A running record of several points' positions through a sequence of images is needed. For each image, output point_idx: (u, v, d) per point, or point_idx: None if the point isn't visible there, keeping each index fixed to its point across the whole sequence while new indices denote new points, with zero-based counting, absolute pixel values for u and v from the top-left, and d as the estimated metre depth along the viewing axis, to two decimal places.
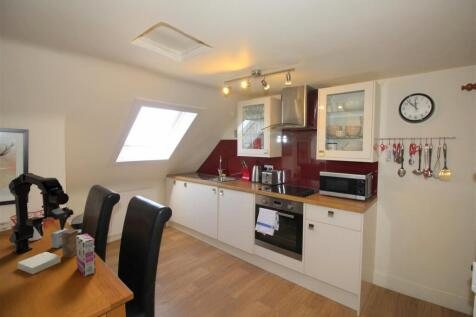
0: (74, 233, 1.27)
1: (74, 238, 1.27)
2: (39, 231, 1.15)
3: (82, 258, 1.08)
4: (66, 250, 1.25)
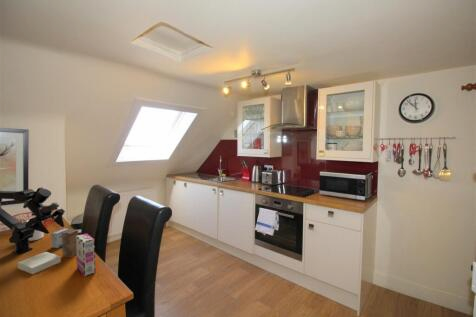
0: (74, 233, 1.27)
1: (74, 238, 1.27)
2: (42, 229, 1.22)
3: (82, 258, 1.08)
4: (66, 250, 1.25)
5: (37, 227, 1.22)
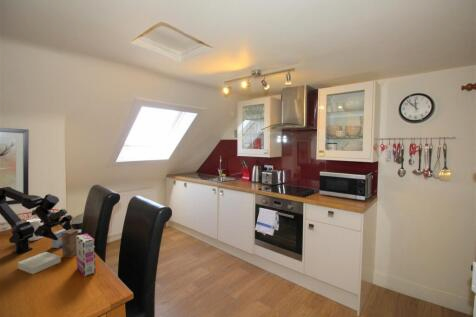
0: (74, 233, 1.27)
1: (74, 238, 1.27)
2: (51, 236, 1.22)
3: (82, 258, 1.08)
4: (66, 250, 1.25)
5: (46, 234, 1.22)
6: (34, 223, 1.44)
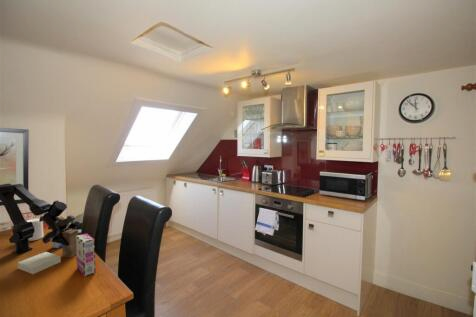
0: (74, 233, 1.27)
1: (74, 238, 1.27)
2: (63, 241, 1.24)
3: (82, 258, 1.08)
4: (66, 250, 1.25)
5: (57, 239, 1.23)
6: (34, 223, 1.44)
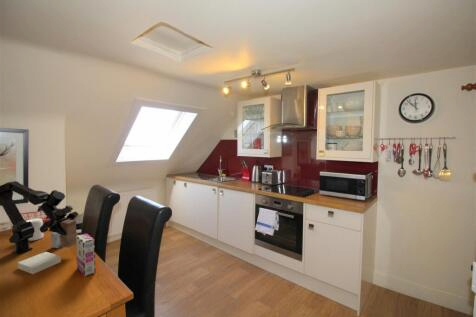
0: (72, 223, 1.25)
1: (71, 229, 1.25)
2: (60, 231, 1.22)
3: (82, 258, 1.08)
4: (64, 240, 1.24)
5: (55, 229, 1.22)
6: (34, 223, 1.44)
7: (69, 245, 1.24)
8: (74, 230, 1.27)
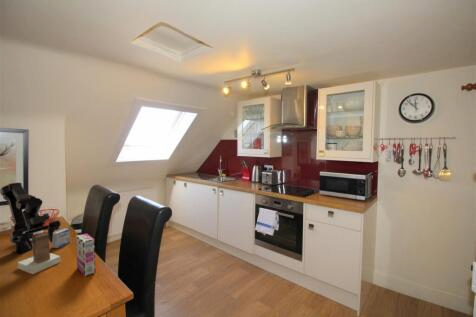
0: (43, 237, 1.14)
1: (42, 243, 1.14)
2: (27, 243, 1.12)
3: (82, 258, 1.08)
4: (35, 255, 1.14)
5: (24, 240, 1.13)
6: None
7: (38, 261, 1.13)
8: (46, 245, 1.15)
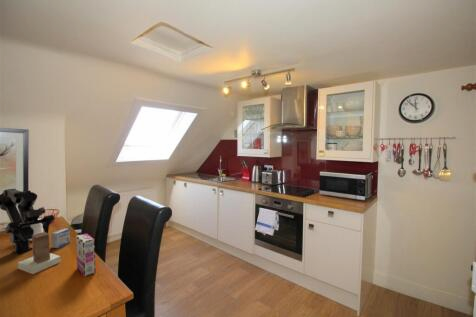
0: (43, 237, 1.14)
1: (42, 243, 1.14)
2: (20, 235, 1.15)
3: (82, 258, 1.08)
4: (35, 255, 1.14)
5: (17, 232, 1.16)
6: None
7: (38, 261, 1.13)
8: (46, 245, 1.15)
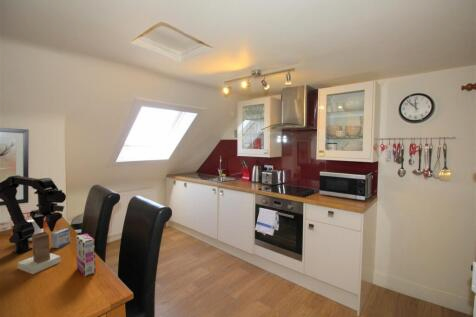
0: (43, 237, 1.14)
1: (42, 243, 1.14)
2: (53, 226, 1.26)
3: (82, 258, 1.08)
4: (35, 255, 1.14)
5: (50, 222, 1.24)
6: (34, 223, 1.44)
7: (38, 261, 1.13)
8: (46, 245, 1.15)
